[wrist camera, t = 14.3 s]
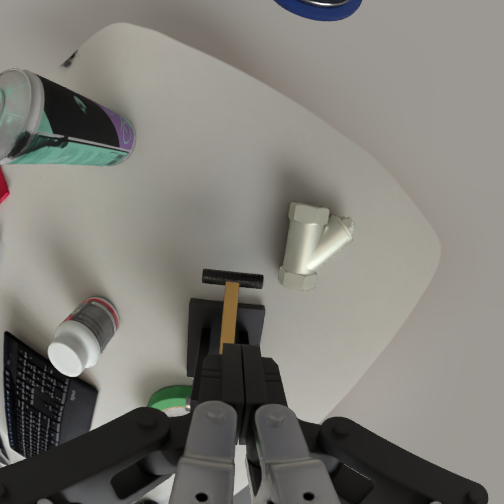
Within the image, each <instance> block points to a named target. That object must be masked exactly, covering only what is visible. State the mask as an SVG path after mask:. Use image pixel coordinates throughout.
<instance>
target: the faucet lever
mask: <svg viewBox="0 0 504 504" xmlns="http://www.w3.org/2000/svg"><path fill="white" fill-rule="evenodd" d="M263 280H264V277H263V275H260V274H250V273H240V272H231V271H221V270H212V269H203V275H202V283H207V284H216V285H225V294H224V305H223V316H222V327H221V339H220V351H219V354H222V347H223V343H233V344H234V338H235V326H236V315H237V303H238V292H239V287H246V288H256V289H262V287H263Z"/></svg>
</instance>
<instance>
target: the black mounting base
mask: <svg viewBox="0 0 504 504" xmlns="http://www.w3.org/2000/svg"><path fill="white" fill-rule="evenodd" d="M223 305H224V302H220V301H210V300H201V299H192V298H191V300H190V303H189V323H188V351H187V377H194V379H193V386H192V392H191V396H187V397H186V405H185V410H186V411H189V412H192V411H193V410H194V409H195V408H196V406H197V404H198V398H199V389H200V381H201V373H202V366H203V360H204V359H205V357H206V356H207V355H208V354H209V353H213V354H219V351H220V339H221V327H222V316H223ZM264 316H265V307H264V306H263V305H251V304H240V303H237V315H236V326H235V338H234V344H241V345H242V344H246V345H259V346H260V340H261V334H262V328H263V322H264ZM238 438H239V437H238Z"/></svg>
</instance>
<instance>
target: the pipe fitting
mask: <svg viewBox="0 0 504 504" xmlns="http://www.w3.org/2000/svg"><path fill="white" fill-rule="evenodd" d="M329 211H330V210H329V209H327V208H325V207H321V206H316V205H311V204H305V203H297V202H292V203H290V208H289V214H288V217H289V218H290V225H289V231H288V237H287V243H286V250H285V255H284V261H283V265H282V266H280V269H279V275H278V280H279V282H280V284H281V285H282V286H284V287H286V288H289V289H293V290H299V291H307V290H311V289H313V288H315V285H316V280H317V273H316V272H315V271H316V270H317V269H318V268H320V267H321V266H322V265H323V264H325V263H326V262H327V261H328V260H330V259H331V258H332V257H333V256H335V255H336V254H337V253H338V252H339V251H341V250H342V249H343V248H344V247H346V246H347V245H348V244H349V243H350V242H352V241H353V236H352V234H351V233H352V232H353V231H354V230H353V225H354V221H353V220H352V219H351V218H350V217H348V218H345V217H340V218H339V217H337V216H336V215H332V216H331V217H329ZM328 217H329V218H328Z"/></svg>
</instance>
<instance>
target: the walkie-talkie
mask: <svg viewBox="0 0 504 504" xmlns="http://www.w3.org/2000/svg"><path fill="white" fill-rule="evenodd" d="M141 504H157V503H154V502H151V501H145V502H143V503H141Z"/></svg>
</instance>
